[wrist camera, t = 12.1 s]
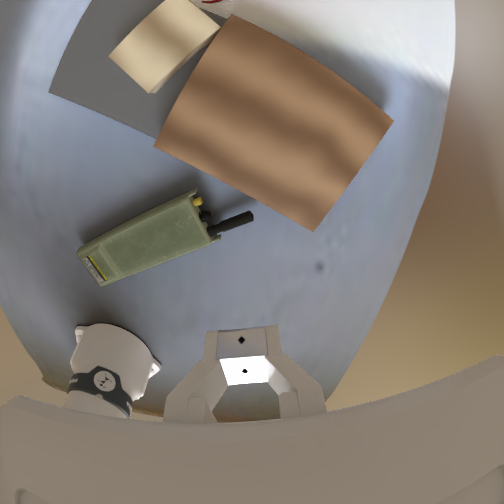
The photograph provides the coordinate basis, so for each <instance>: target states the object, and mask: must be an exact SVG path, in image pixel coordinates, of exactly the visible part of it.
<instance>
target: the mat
mask: <svg viewBox="0 0 504 504" xmlns="http://www.w3.org/2000/svg"><path fill="white" fill-rule="evenodd" d="M164 1H165V0H92V1H91V3H90V4H89V6H88V8H87V9H86V11H85V13H84V15H83V16H82V18H81V20H80V22H79V24H78V26H77V27H76V29H75V31H74V33H73V35H72V37H71V39H70V41H69V43H68V45H67V48H66V50H65V52H64V54H63V56H62V59H61V61H60V63H59V66H58V68H57V71H56V73H55V76H54V78H53V81H52V84H51V86H50V89H49V93H52V94H54V95H57V96H59V97H62V98H64V99H67V100H69V101H72V102H74V103H77V104H79V105H82V106H84V107H86V108H89V109H91V110H94V111H96V112H98V113H101V114H103V115H105V116H107V117H110V118H112V119H114V120H117V121H119V122H121V123H123V124H125V125H128V126H130V127H132V128H134V129H136V130H139V131H141V132H143V133H145V134H147V135H149V136H151V137H153V138H155V139H157V138H158V136H159V134H160V132H161V130H162V128H163V125H164V123H165V121H166V120H167V118H168V116H169V114H170V112H171V110H172V108H173V106H174V104H175V102H176V100H177V99H178V97H179V95H180V93H181V91H182V90H183V88H184V86H185V84H186V83H187V81H188V79H189V77H190V76H191V74H192V72H193V71H194V69H195V67H196V66H197V64H198V63H199V61H200V59H201V58H202V56H203V55H204V53H205V52H206V50H207V48H208V47H209V45H210V44H211V42H210V43H209V44H208V45H207V46H206V47H204V48H203V49H202V50H201V51H200V52H198V53H197V54H196V55H195V56H194V57H193V58H192V59H190V60H189V61H188V62H187V63H186V64H185V65H184V66H183V67H182V68H181V69H180V70H178V71H177V72H176V73H175V74H174V75H173V76H172V77H171V78H170V79H169V80H168V81H167V82H166V83H165V84H164V85H163V86H162V87H161V88H160V89H159V90H158V91H157V92H156V93H147V92H146V91H145V90H144V89H143V88H142V87H141V86H140V85H139V84H138V83H137V82H136V81H135V80H134V79H132V78H131V77H130V76H129V75H128V74H127V73H126V72H125V71H124V70H123V69H122V68H121V67H119V66H118V65H117V64H116V63H115V62H114V61H113V60H112V59H111V58H109V57H108V56H109V55H110V54H111V53H112V52H113V50H114V49H115V48H116V47H117V46H118V45H119V44H120V43H121V42H122V41H123V40H124V38H125V37H126V36H127V35H128V34H129V33H130V32H131V31H132V30H133V29H134V28H135V27H136V26H137V25H138V24H139V23H140V22H141V21H143V20H144V19H145V18H146V17H147V16H148V15H149V14H150V13H151V12H152V11H153V10H154V9H156V8H157V7H158V6H159V5H160V4H161V3H163V2H164ZM197 8H198V7H197ZM199 9H200V8H199ZM200 10H201V11H202V12H204V13H205V14H206V15H207V16H208V17H210V18H211V19H212V20H213V21H214V22H215V23H216V24H218V25H219V26H220V27H221V28H222V26H223V25H224V24H225V22H226V21H227V19H225V18H223V17H221V16H218V15H216V14H213V13H211V12H208V11H206V10H203V9H200Z"/></svg>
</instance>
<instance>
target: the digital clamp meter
mask: <svg viewBox="0 0 504 504" xmlns="http://www.w3.org/2000/svg"><path fill="white" fill-rule="evenodd" d="M219 1H222V0H214V1H202V2H203V3H214V2H219Z"/></svg>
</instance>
